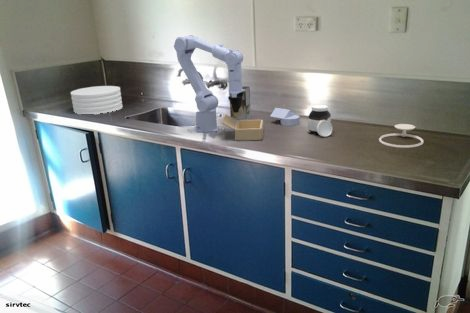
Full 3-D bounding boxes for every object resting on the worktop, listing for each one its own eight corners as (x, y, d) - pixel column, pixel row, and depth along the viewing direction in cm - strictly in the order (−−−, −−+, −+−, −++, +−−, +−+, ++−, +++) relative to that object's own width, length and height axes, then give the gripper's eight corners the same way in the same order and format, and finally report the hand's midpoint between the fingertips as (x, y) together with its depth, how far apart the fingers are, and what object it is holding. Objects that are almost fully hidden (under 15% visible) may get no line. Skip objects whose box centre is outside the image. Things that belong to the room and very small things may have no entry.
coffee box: (251, 117, 223) (250, 86, 218) (247, 120, 218) (245, 88, 212) (234, 116, 227) (233, 85, 221) (230, 119, 221) (228, 88, 216)
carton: (235, 140, 186) (234, 129, 185) (238, 130, 201) (238, 120, 200) (261, 140, 185) (261, 129, 184) (263, 130, 200) (263, 119, 198)
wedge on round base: (270, 123, 211) (292, 127, 203) (269, 109, 209) (292, 112, 201) (281, 119, 217) (303, 122, 209) (281, 105, 215) (303, 109, 207)
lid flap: (234, 128, 186) (233, 129, 186) (237, 120, 199) (236, 121, 199) (221, 122, 185) (221, 123, 185) (225, 114, 198) (225, 115, 199)
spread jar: (318, 128, 198) (319, 103, 195) (340, 132, 191) (341, 106, 187) (302, 134, 191) (302, 108, 187) (324, 139, 183) (325, 112, 179)
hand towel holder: (375, 135, 171) (385, 122, 188) (374, 146, 172) (384, 132, 189) (421, 139, 163) (428, 125, 180) (420, 150, 164) (427, 135, 181)
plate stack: (63, 112, 256) (60, 93, 252) (100, 102, 278) (97, 84, 275) (96, 116, 242) (93, 96, 238) (132, 106, 264) (130, 87, 260)
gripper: (242, 82, 182) (244, 114, 187) (246, 76, 196) (247, 106, 200) (226, 82, 183) (227, 114, 188) (230, 77, 197) (232, 106, 201)
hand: (236, 110), depth 194 cm, fingers open, 7 cm apart
